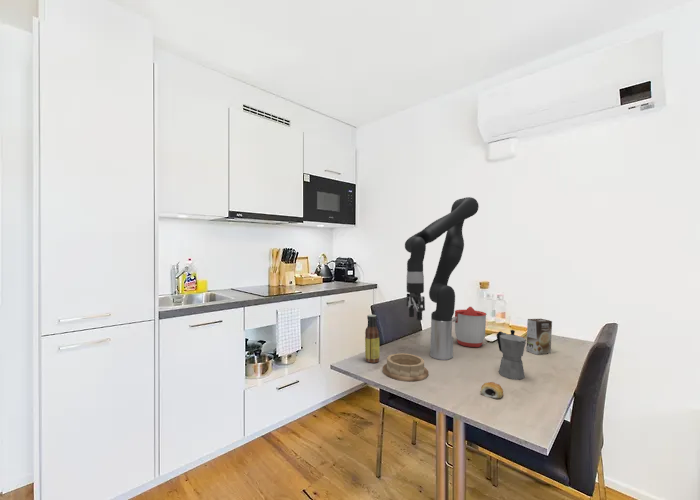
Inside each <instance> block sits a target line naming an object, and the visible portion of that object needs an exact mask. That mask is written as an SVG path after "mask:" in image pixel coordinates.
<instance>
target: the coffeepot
mask: <svg viewBox="0 0 700 500" xmlns="http://www.w3.org/2000/svg"><path fill="white" fill-rule="evenodd" d="M509 331H510V334H509V333H508V334H507V333H506V332H502V331H498V332H497V333H496V340H497V345H498V349H499V351H500V352H501V353H502V356H501V359H500V363H499V368H498V373H499V375H501V377H503V378H506V379H509V380H515V381H517V380H519V381H520V380H523V379H525V378H526V375H525V372H524V365H523V364H524V362H523V360H522V357H523V356H524V351H525V348H526V345H527V338H526V339H525V338H524V337H523V336H520V335H517V334H515V333H516V330H514V329H510V330H509Z"/></svg>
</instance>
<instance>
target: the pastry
mask: <svg viewBox="0 0 700 500" xmlns="http://www.w3.org/2000/svg"><path fill="white" fill-rule="evenodd" d="M480 387H481V389H480V391H479V392H480V394H481V395H482V396H484V397H486V398H492V399H499V400H500V399H501V398H503V395H504V390H503V387H502V386H501V385H500V384H499V383H496V382H494V381H491V382H484V384H482V385H481V386H480Z"/></svg>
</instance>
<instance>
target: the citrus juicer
mask: <svg viewBox="0 0 700 500" xmlns="http://www.w3.org/2000/svg"><path fill="white" fill-rule="evenodd" d="M486 317H487V312H484V311H482V310H481V311H480V310H475V309H474V308H473V306H468V307H467V308H466V309H455V310H454V316H452V323H453V322H454V333H455V338H456V342H457V343H458V344H459V345H461V346H462V347H469V348H481V347H482V345H483V343H484V340H485V335H486V327H487V326H486V324H487V323H486V322H487V321H486V320H487V318H486Z"/></svg>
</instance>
